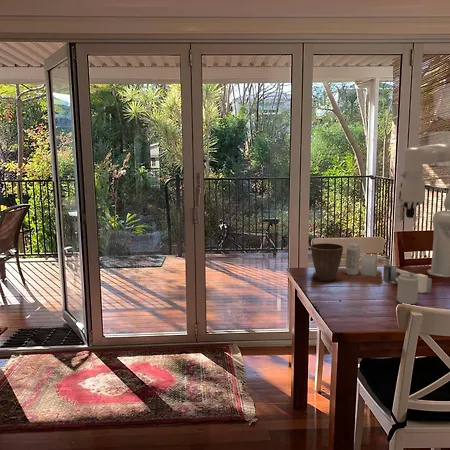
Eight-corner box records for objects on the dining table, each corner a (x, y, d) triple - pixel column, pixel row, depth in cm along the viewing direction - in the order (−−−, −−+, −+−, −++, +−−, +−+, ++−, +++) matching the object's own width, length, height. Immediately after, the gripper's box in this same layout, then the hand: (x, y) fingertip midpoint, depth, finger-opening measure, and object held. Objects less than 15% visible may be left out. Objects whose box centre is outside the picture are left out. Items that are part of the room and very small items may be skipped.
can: (418, 306, 168) (421, 276, 166) (398, 305, 170) (400, 275, 168) (414, 300, 175) (416, 271, 173) (395, 299, 177) (396, 270, 175)
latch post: (426, 290, 187) (427, 277, 186) (430, 292, 185) (431, 278, 184) (422, 291, 186) (423, 278, 185) (426, 292, 184) (427, 279, 183)
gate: (393, 281, 200) (394, 266, 199) (426, 292, 184) (427, 275, 183) (388, 282, 199) (389, 267, 198) (421, 293, 183) (422, 276, 182)
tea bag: (374, 276, 209) (375, 256, 208) (360, 274, 214) (361, 254, 212) (376, 275, 212) (377, 255, 210) (363, 272, 216) (364, 253, 215)
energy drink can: (361, 274, 212) (362, 245, 210) (352, 276, 209) (353, 246, 207) (351, 272, 218) (353, 243, 215) (343, 273, 215) (344, 244, 212)
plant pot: (307, 281, 201) (308, 248, 198) (312, 273, 215) (312, 242, 212) (340, 284, 196) (342, 250, 194) (342, 276, 210) (344, 244, 208)
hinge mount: (388, 279, 204) (389, 264, 203) (400, 283, 197) (401, 267, 196) (381, 280, 202) (382, 265, 201) (393, 285, 196) (394, 269, 194)
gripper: (399, 176, 184) (397, 218, 187) (433, 176, 185) (430, 218, 188) (392, 175, 192) (389, 216, 194) (424, 175, 192) (421, 216, 195)
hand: (409, 217), depth 191 cm, fingers closed
